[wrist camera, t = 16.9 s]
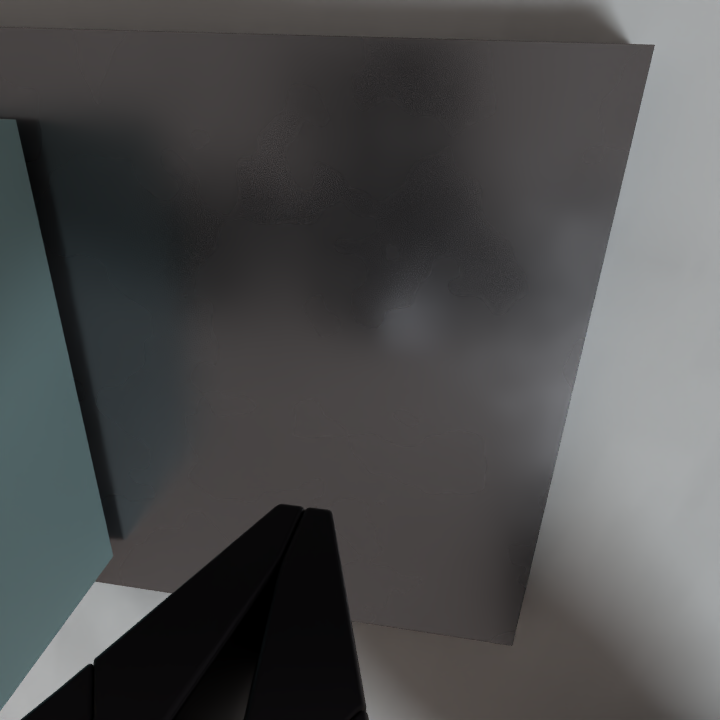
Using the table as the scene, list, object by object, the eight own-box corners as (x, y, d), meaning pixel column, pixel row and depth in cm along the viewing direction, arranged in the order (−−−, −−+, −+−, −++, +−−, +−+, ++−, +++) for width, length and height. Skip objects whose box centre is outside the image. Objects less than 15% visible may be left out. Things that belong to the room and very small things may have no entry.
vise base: (634, 49, 9) (934, -24, 4) (508, 614, 16) (543, 922, 10) (-343, 22, 12) (-1118, -50, 6) (-115, 522, 18) (-385, 726, 12)
